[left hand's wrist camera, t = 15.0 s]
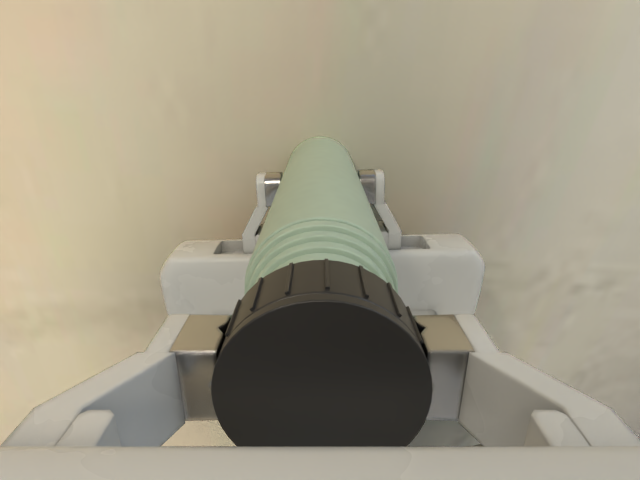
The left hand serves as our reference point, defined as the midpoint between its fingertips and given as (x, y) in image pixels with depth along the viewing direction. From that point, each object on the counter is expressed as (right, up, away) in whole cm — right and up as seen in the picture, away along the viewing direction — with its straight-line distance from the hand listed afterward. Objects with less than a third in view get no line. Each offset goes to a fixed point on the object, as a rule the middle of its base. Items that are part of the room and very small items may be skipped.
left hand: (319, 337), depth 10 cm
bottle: (0, +8, +20) cm, 21 cm away
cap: (0, -1, -2) cm, 2 cm away
